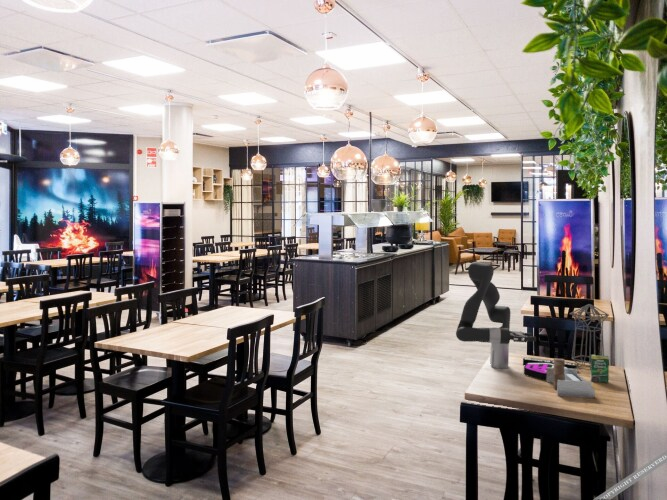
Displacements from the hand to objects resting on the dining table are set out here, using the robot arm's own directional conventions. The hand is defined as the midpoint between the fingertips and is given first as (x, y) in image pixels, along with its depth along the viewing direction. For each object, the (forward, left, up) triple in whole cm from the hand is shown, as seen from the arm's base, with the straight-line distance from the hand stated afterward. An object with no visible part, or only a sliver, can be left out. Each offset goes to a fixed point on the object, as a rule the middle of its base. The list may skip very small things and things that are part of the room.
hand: (534, 337), depth 252 cm
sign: (+13, +28, -25) cm, 39 cm away
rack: (+16, 0, -24) cm, 29 cm away
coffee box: (+35, +16, -24) cm, 45 cm away
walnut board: (+12, 0, -24) cm, 27 cm away
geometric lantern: (+37, +42, -24) cm, 61 cm away
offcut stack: (+18, 0, -24) cm, 30 cm away
